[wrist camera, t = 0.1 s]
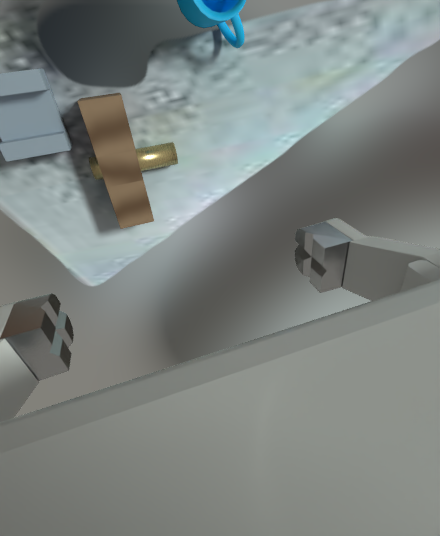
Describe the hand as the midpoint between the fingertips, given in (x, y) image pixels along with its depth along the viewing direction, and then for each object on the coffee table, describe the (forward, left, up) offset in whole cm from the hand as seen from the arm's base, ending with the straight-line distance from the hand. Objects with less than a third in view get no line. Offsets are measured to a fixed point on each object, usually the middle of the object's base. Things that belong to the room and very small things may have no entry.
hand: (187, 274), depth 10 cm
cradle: (-2, -14, -48) cm, 50 cm away
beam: (+7, -3, -48) cm, 49 cm away
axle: (+7, -1, -48) cm, 49 cm away
